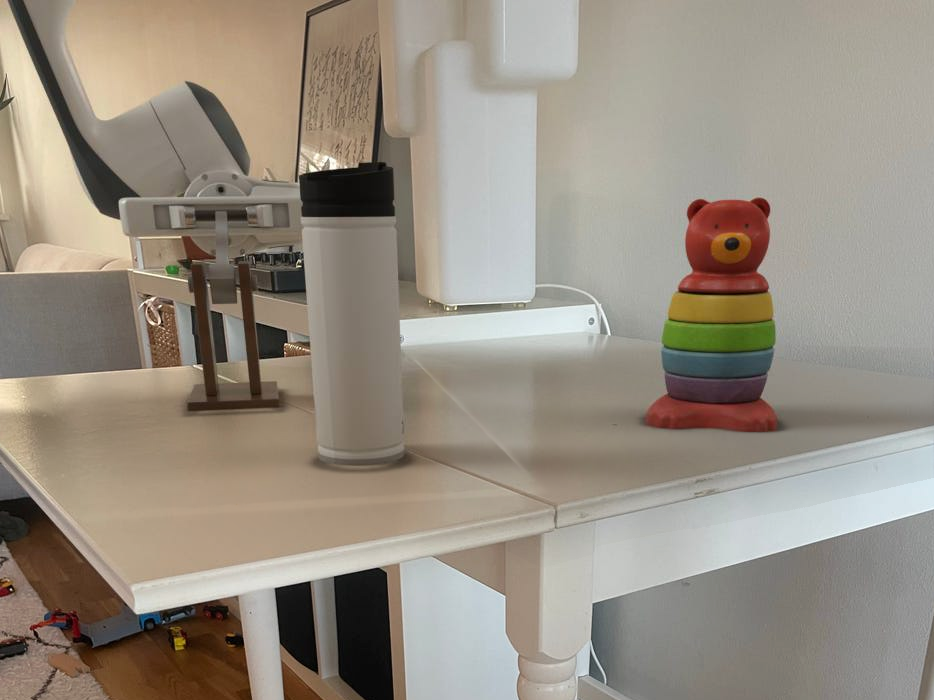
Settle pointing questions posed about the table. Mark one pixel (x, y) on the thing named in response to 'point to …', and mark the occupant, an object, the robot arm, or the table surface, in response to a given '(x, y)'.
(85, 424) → the table surface
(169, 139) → the robot arm
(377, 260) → the travel mug
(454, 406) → the table surface
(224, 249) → the lever
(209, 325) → the brown wooden stand
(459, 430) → the table surface
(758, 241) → the stacking bear
